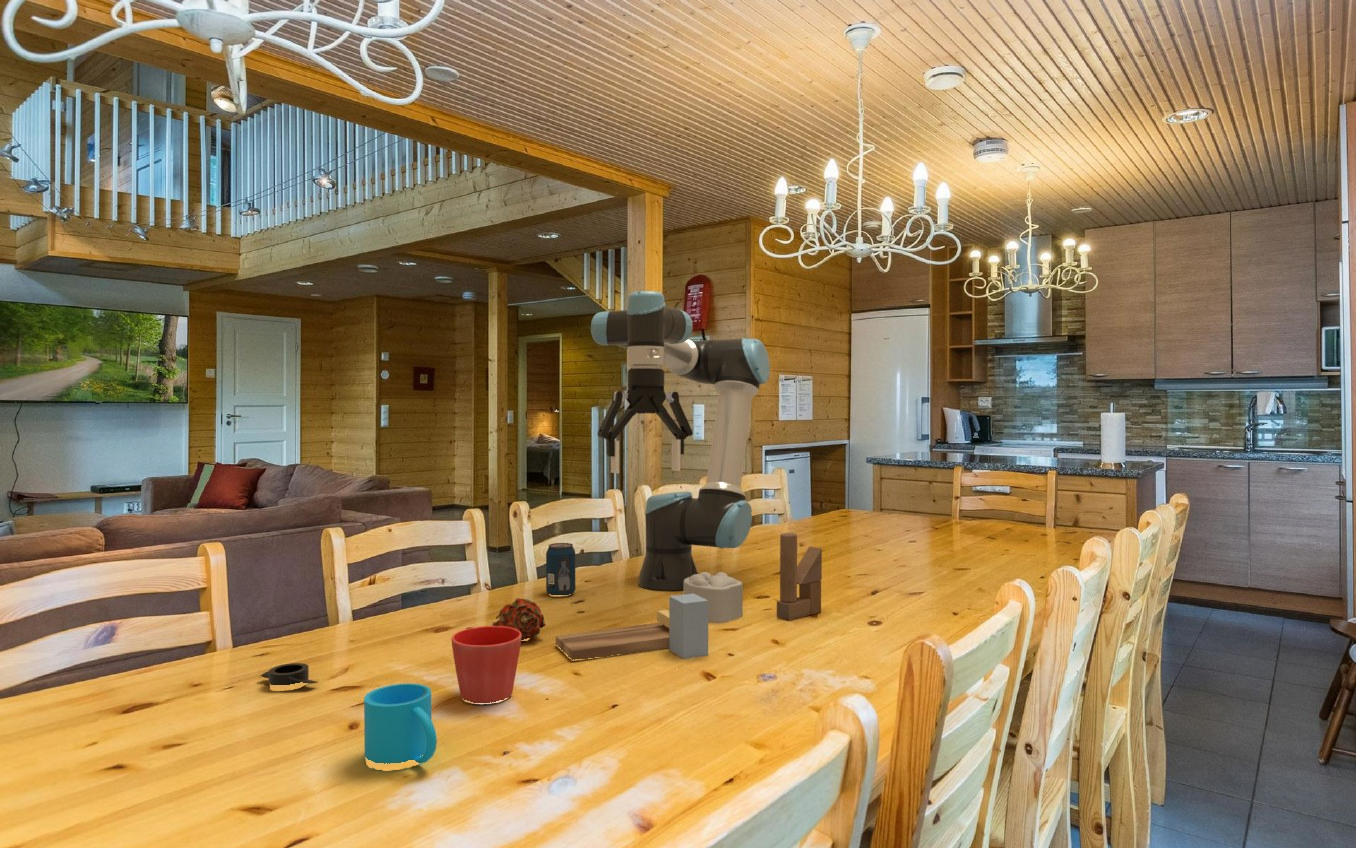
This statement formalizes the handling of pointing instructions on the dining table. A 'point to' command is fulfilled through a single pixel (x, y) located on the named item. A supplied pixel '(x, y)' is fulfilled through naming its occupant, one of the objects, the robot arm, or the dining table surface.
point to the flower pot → (486, 662)
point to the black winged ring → (288, 674)
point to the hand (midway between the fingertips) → (646, 471)
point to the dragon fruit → (522, 617)
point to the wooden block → (799, 580)
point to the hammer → (686, 625)
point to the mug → (399, 724)
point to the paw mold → (717, 595)
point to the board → (614, 641)
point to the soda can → (560, 569)
